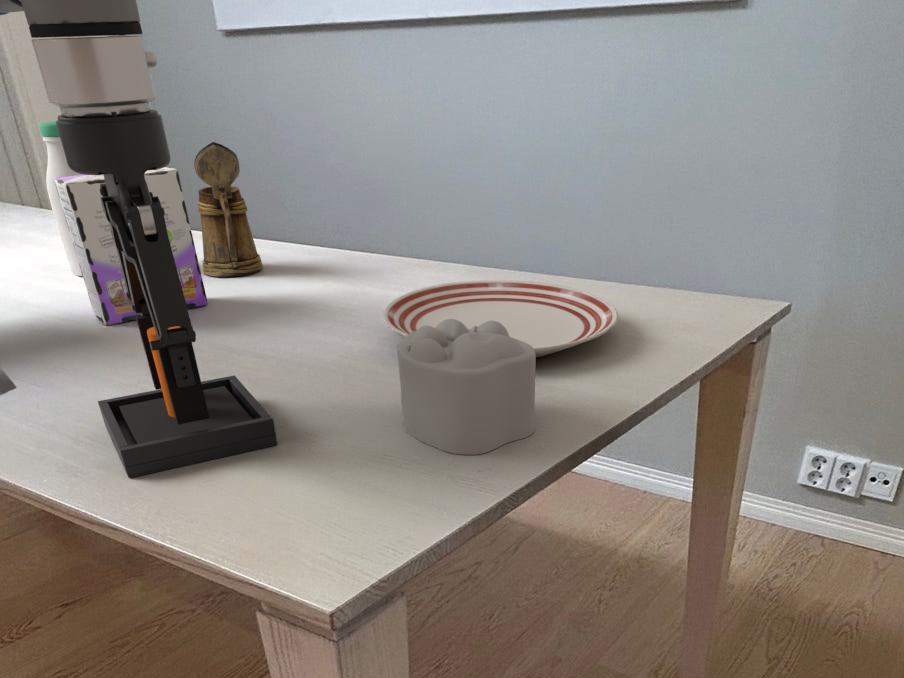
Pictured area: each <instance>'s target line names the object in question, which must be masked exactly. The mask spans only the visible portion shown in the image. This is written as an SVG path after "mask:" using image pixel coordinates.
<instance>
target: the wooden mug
mask: <svg viewBox="0 0 904 678" xmlns="http://www.w3.org/2000/svg"><path fill="white" fill-rule="evenodd" d="M194 169H195V173H196V175H197V177H198V179H200V180H201V181H202V182H203V183H205V184H206V185H208V186H205V187H203V188H200V189H198V200H197V208H198V210H197V211H198V213H199V214H200V225H201V237H202V238H201V239H202V251H203V252H202V253H203V260H202V261H201V262H202V271H203V274H204V275H207V276H209V277H214V278H215V277H216V278H235V277H243V276H248V275H252V274H256V273H258V272H260V271H261V270H262V269H263V268H264V266H263V262H262V258H261V255H260V254H259V253H258V251H257V247H256V244H255V240H254V236H253V233H252V230H251V226H250V223H249V219H248V215H247V212H248V207H247V203H246V201H245V199H244V198H243V197H242V193H241V191H240V189H239V187H238V186H233V183H234V182H235V181H236V180H237V178H238V177H239V175H240V161H239V159H238V156H237V154H236V153H235V152H234V150H232V149H230V148H229V147H227V146H225V145H223V144H221V143H218V142H215V141H212V142H210V143H209V144H207V145H205V146H204V147H203V148H201V149H200V150H199V151H198V153H197V154H196V155H195V158H194Z"/></svg>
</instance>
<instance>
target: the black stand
mask: <svg viewBox="0 0 904 678" xmlns="http://www.w3.org/2000/svg"><path fill="white" fill-rule="evenodd" d="M175 328H180V326H175V327H170V328H168V329H175ZM147 335H148V339H149V342H150V341H155V340H157V335H156V332H155V328H154V327H152V328H150V329H148V330H147ZM152 354H153V357H154V361H155V365H156V369H157V373H158V376H159V380H160V384H161V388H162V392H163V395H164V398H160V399H154V400H149V401H144V402H139V403H134V404H128V405H123V406H119V407H120V411H121V414H122V417H123V420H124V422H125V424H126V426H127V428H128V430H129V432H130V434H131V436H132V438H133V440H134V442H135V444H140V443H145V442H149V441H154V440H159V439H164V438H168V437H173V436H178V435H183V434H187V433H192V432H197V431H202V430H206V429H211V428H216V427H221V426H225V425H230V424H235V423H240V422H244V421H249V420H253V419H252V418H251V417H250V416H249V415H248V413H247V412H246V411H245V410H244V409H243V407H242V406H241V405H240V404H239V403H238V401H237V400H236V399H235V398H234V397H233V395H232V394H231V393H230V392H229V391H228V389H227V388H226V387H225V386H222V387H217V388H211V389H206V390H203V392H204V397H205V401H206V405H207V409H208V414H209V418H208V419H203V420H198V421H194V422H189V423H184V424H179V425H178V424H177V422H176V419H175V415H174V411H173V407H172V403H171V399H170V395H169V392H168V388H167V384H166V380H165V376H164V372H163V369H162V365H161V361H160V357H159V353H158V350H153V351H152Z"/></svg>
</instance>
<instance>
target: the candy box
mask: <svg viewBox="0 0 904 678" xmlns="http://www.w3.org/2000/svg"><path fill="white" fill-rule="evenodd" d="M144 176H145V181H146V182H147V186H148V189H149V192H152V194H153V197H155V196H158V198H159V200H160V204H161V207H162V208H163V209H164V212H165V215H164V219H165V223H166V228H167V233H168V237H169V241H170V245H171V249H172V252H173V256H174V260H175V264H176V267H177V271H178V275H179V279H180V282H181V286H182V290H183V294H184V297H185V301H186V305H187V309H188V310H189V309H194V308H198V307H201V306H206V305H208V304H209V303H208V297H207V293H206V289H205V285H204V280H203V276H202V272H201V267H200V263H199V259H198V254H197V250H196V246H195V241H194V235H193V233H192V228H191V227H192V226H191V224H190V219H189V214H188V210H187V205H186V201H185V198H184V192H183V189H182V185H181V184H182V183H181V179H180V173H179V170H178V168H174V167H170V166H166V167H164V168H161V169H158V170H147V171H146V172H145V173H144ZM54 182H55V185H56V188H57V191H58V195H59V198H60V201H61V205H62V208H63V212H64V215H65V218H66V222H67V225H68V228H69V231H70V235H71V238H72V241H73V245H74V248H75V251H76V255H77V258H78V262H79V265H80V268H81V271H82V275H83V276H82V277H83V278H82V279H83V281H84V285H85V288H86V291H87V296H88V299H89V301H90V305H91V308H92V312H93V315H94V316H95V317H96V318H97V319H98V320H99V321H101V322H102V324H103V325H105V326H112V325H116V324H117V325H118V324H122V323H125V322H129V321H137V320H136V317H137V316H141V314H136V313H135V311H134V310H133V309H132V302H130V300H128V298H127V296H126V292H127V290H126V286H125V282H124V278H123V274H122V270H121V266H120V262H119V258H118V254H117V250H116V246H115V243H114V240H113V238H112V234H111V230H110V225H109V221H108V220H107V218H106V216H105V213H104V211H103V208H102V203H101V198H100V197H103V196H101V194H100V190H99V189H100V184H105V179H104V175H77V176H69V177H61V178H54Z"/></svg>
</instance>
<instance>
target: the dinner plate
mask: <svg viewBox="0 0 904 678" xmlns="http://www.w3.org/2000/svg"><path fill="white" fill-rule="evenodd" d="M618 318H619V315H618V311H617V309H616V308H615V307H614V305H612V304H611V303H610V302H609V301H607V300H606V299H604V298H603V297H601V296H599V295H596V294H594V293H591V292H589V291H586V290H582V289H579V288H575V287H571V286H567V285H566V286H565V285H561V284H554V283H550V282H549V283H548V282H540V281H529V280H509V279H508V280H507V279H506V280H505V279H486V280H485V279H480V280H465V281H455V282H445V283H441V284H433V285H429V286H425V287H421V288H418V289H413V290H411V291H408V292H406V293H404V294H402V295H399V296H398V297H395V298H394V299H393V300H391V301H390V302H388V304H387V305H386V306H385V307H384V309H383V310H382V320H383V322H384V324H385V325H386V326H387V328H389V329H390V330H392V331H393V332H394V333H395V334H397V335H398V336H400V337H402V338H404V337H405V336H406V335H408V334H410V333H412V332H413V331H415V332H416V330H417V329H419V328H420V327H422V326H432V327H434V328H435V327H436V326H437V325H438V324H439V323H440V322H442V321H444V320H447V319H456V320H458V321H460V322H462V323H463V324H464V325H465V326H466V328H467V329H471V328H472V327H474V326H477V327H478V326H479V325H481V324H482V323H484V322H487V321H491V320H493V321H497V322H499V323H501V324H502V325H503V326H504V327H505V328H506V330H507V331H508V334H509V336H510V337H512V338H515V339H517V340H520V341H523V342H525V343H527V344H529V345H531V346H532V347H533V348H534V350H535V355H536V358H539V357H545V356H549V355H552V354H555V353H558V352H561V351H562V350H563V351H564V350H567V349H569V348H573V347H576V346H578V345H582V344H584V343H586V342H589V341H593V340H594V339H597V338H599V337H601V336H603V335H605V334H607V333H608V332H609V331H611V330H612V329H613V328H614V327H615V325H616V324H617V323H618V320H619V319H618Z"/></svg>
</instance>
